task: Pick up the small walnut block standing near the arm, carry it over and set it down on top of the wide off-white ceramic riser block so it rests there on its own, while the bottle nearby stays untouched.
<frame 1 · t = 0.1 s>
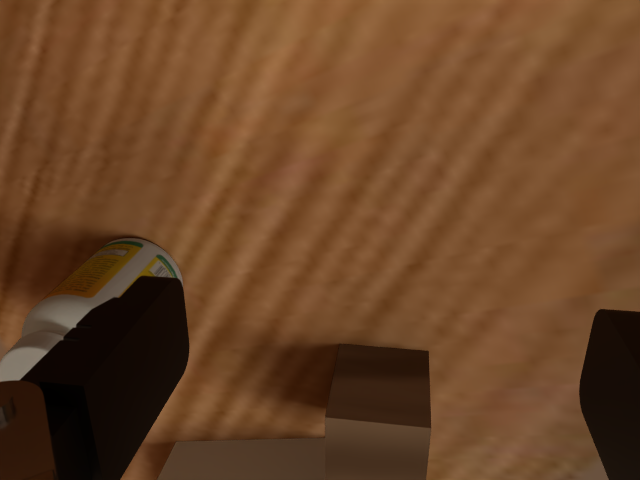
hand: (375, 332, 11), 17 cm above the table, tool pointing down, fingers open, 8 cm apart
supplement bottle: (141, 274, 33), on the table
walnut block: (381, 381, 33), on the table
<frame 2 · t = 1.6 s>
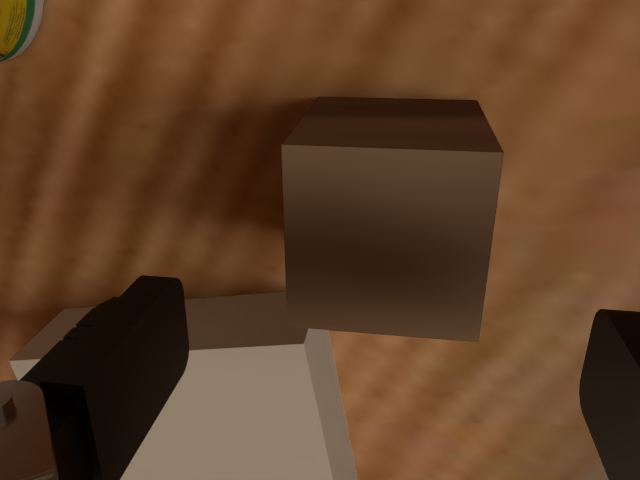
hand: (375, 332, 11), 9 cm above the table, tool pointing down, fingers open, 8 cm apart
riser block: (221, 402, 25), on the table
walnut block: (393, 172, 19), on the table
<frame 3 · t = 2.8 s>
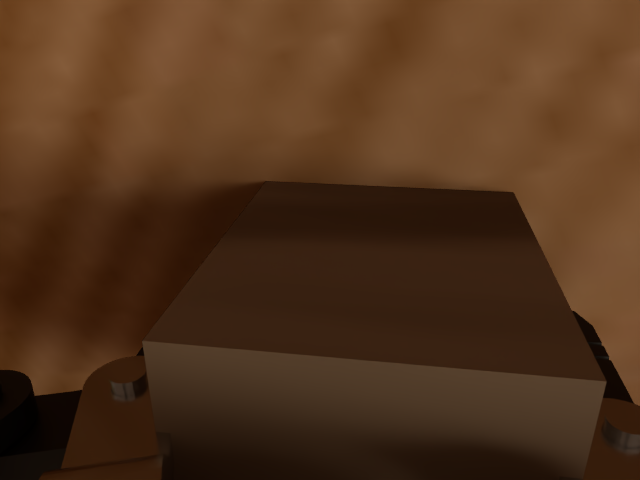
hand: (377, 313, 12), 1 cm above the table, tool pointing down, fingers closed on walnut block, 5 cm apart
walnut block: (380, 294, 13), on the table, touching gripper
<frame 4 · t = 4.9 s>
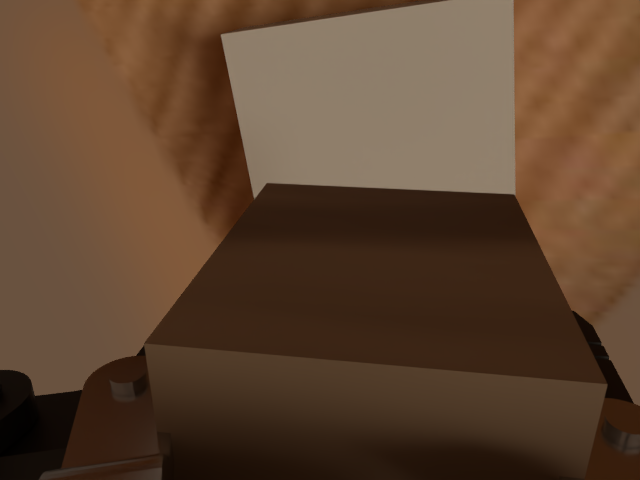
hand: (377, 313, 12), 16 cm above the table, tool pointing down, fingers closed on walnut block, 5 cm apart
riser block: (380, 131, 27), on the table
walnut block: (381, 296, 13), point 15 cm above the table, touching gripper
when the fingers open (6 cm above the table, at t = 7.3 s): walnut block drops 1 cm, resting on riser block.
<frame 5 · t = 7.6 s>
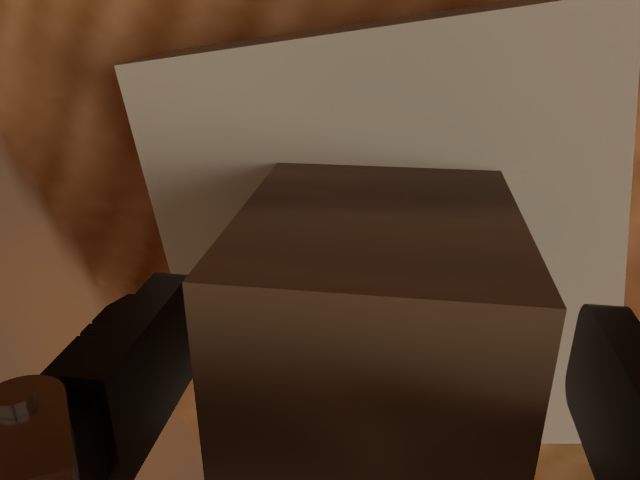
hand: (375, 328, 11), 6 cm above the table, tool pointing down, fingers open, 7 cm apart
riser block: (388, 210, 18), on the table, touching walnut block
walnut block: (382, 266, 14), point 3 cm above the table, touching riser block
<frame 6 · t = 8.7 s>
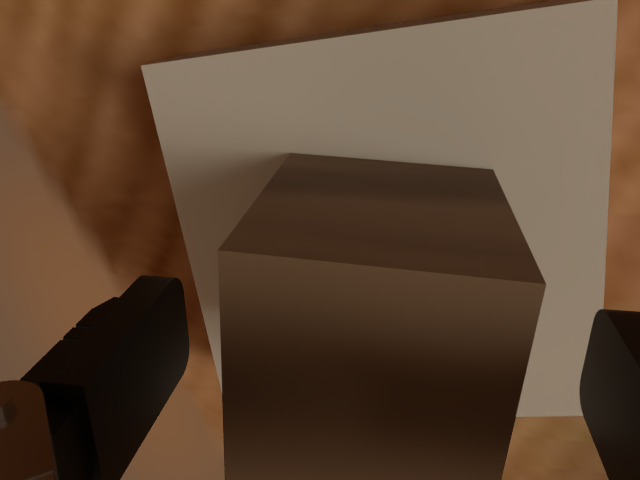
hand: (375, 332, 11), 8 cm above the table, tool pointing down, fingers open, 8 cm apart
riser block: (389, 202, 19), on the table, touching walnut block
walnut block: (381, 252, 15), point 4 cm above the table, touching riser block
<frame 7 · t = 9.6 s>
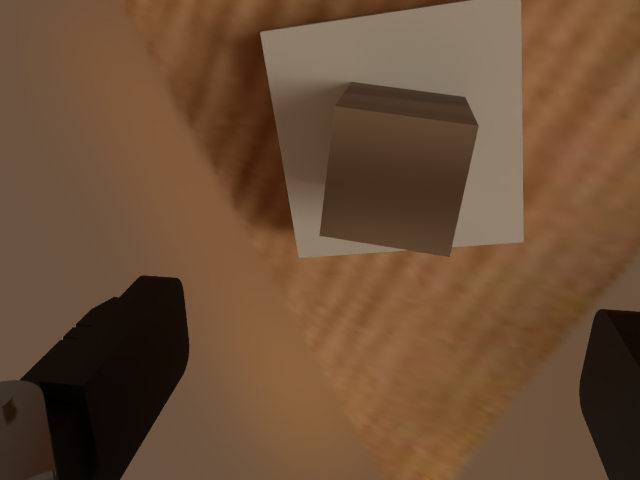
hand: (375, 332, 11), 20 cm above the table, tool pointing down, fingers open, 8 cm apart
riser block: (398, 123, 30), on the table, touching walnut block
walnut block: (398, 144, 26), point 4 cm above the table, touching riser block
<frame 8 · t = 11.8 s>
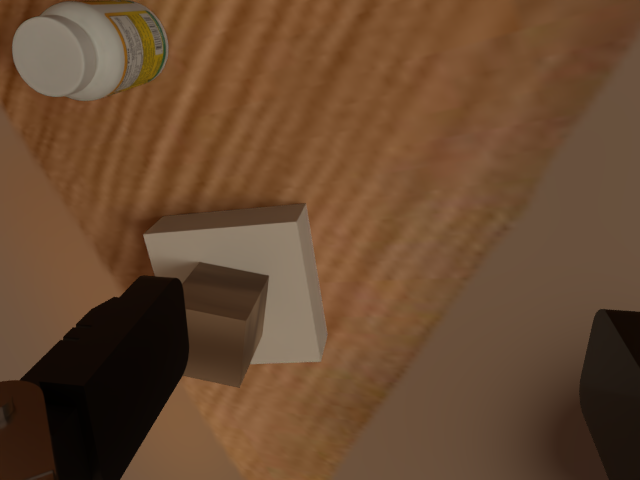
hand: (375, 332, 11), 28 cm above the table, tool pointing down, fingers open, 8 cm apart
riser block: (248, 274, 44), on the table
supplement bottle: (133, 42, 38), on the table
walnut block: (231, 299, 41), point 4 cm above the table
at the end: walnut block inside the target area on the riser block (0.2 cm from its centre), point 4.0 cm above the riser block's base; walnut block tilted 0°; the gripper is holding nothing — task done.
